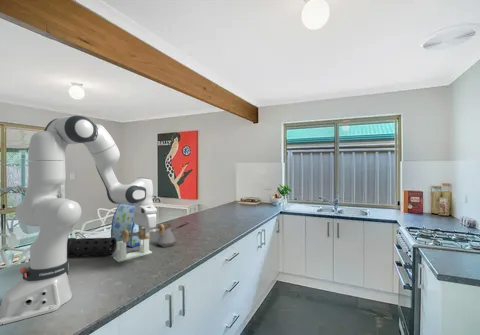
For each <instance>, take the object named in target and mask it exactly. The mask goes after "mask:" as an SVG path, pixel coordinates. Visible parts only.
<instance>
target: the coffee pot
mask: <svg viewBox="0 0 480 335" xmlns="http://www.w3.org/2000/svg"><path fill="white" fill-rule="evenodd" d="M187 225H188V227H190V223H189V222H187V223H184V224H180V225H179V226H176V227H173V228H172V226H173V224H171V223H169V224H168V223H166V224H163V226H164V229H165V232H164V235H161V236H160V235H159V236H158V237H159V238H158V239H157V244H158V245H159V246H160V247H163V248H166V247H167V248H169V247H172V246H173V245H175V243H176V242H177V238H176V236H175V234H174V232H173V231H175V230H177V229H180V228H182V227H184V226H187Z"/></svg>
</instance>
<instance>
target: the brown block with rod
mask: <svg viewBox="0 0 480 335" xmlns="http://www.w3.org/2000/svg"><path fill="white" fill-rule="evenodd" d="M163 225H164V224H163V223H159V224H158V226H157V228H153V229H150V230H149V235H148V236H145V235H144V232H145V228H141V229H139V230H138V232H135V233H129V234H128V231H127V230H123V231H122V240H123V242H128V239H129V237H133V236H138V238H139V239H141V240H145V239H149V240H150V238H151V237H150V236H151V234H156V233H157V234H158V235H159V237H160V236H161V235H164V232H165V229H164V226H163Z"/></svg>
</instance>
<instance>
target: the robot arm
mask: <svg viewBox="0 0 480 335" xmlns="http://www.w3.org/2000/svg"><path fill="white" fill-rule="evenodd" d="M77 144H83V145H84V146H85V147H86V148H87V151H88V152H89V154H90V155H91V157H92V158H93V161H94V163H95V167H96V171H97V172H98V175H99V177H100V179H101V181H102V184H104V187H105V190H106V196H107V199H108V201H110V202H111V203H112V204H114V205H115V204H116V205H117V204H118V205H119V204H121V203H122V204H135V211H134V217H133V222H134V224H136V225H138V228H139V229H141V228H143V227H145V232H144V235H145V236H148V235H149V230H153V229H156V227H157V213H158V209H157V208H156V206H155V205H154V201H153V196H154V185H153V184H154V183H153V180H152V179H150V178H147V177H136V179H135V180H134V181H133V182H131V183H129V184H122V183H121V182H120V181H118V178H117V176H116V175H115V172H114V170H113V166H114V165H116V164H117V163H118V161H119V160H120V157H121V152H120V150H119V147H118V146H117V144H116V142H115V140H114V139H113V137H112V136H111V134H110V133H109V132H108V130H107V129H106V128H105V127H104V126H103V125H102V124H99V123H94V121H92V120H91V119H89V118H88V117H86V116H83V115H70V116H68V115H67V116H62V117H58V118H55V119H54V118H53V119H52V120H51V121H49V123H47V124H46V126H45V129H44V130H42V131H37V132H34V133H33V134H32V135H31V136H30V140H29V145H28V146H29V147H28V153H27V154H28V155H27V157H28V158H27V161H28V164H27V165H28V168H27V169H28V175H27V176H28V177H27V178H28V180H27V187H26V190H25V193H24V196H23V199H22V201H20V203H18V205H17V206H16V208H15V212H14V214H15V218H16V219H17V220H18V221H19V222H20V223H22V224H25V225H27V226H31V227H39V231H38V235H37V237H36V240H34V241H33V242H32V243H31V244H30V247H29V267H26V266H23V267H21V268H20V270H19V272H20V274H22V279H21V280H20V281H18V282H17V284H15V285H13V287H11V288H10V289H9V290H7V291H6V292H5V294H4V295H3V298H2V300H1V304H0V326H3V325H7V324H10V323H14V322H17V321H21V320H26V319H30V318H33V317H36V316H40V315H41V316H42V315H43V314H48V313H52V312H55V311H57V310H58V309H59V308H60V307H61V306H63V305H64V304H66V303H68V302H69V301H70V300H71V299H72V298H73V293H72V290H71V286H70V281H69V271H70V266H69V265H70V264H69V260H68V256H67V241H68V238H69V236H70V233H71V231H72V228H73V227H74V225H76V224H77V223H78V222H79V220H81V218H82V213H83V212H82V207H81V205H80V204H79V203H78V202H77V201H75V200H71V199H69V198H67V197H65V198H63V197H58V193H59V189H60V187H61V186H62V185H64V183H65V182H66V180H67V179H66V178H67V173H66V149H67V147H68V145H77ZM2 324H3V325H2Z"/></svg>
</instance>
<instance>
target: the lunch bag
mask: <svg viewBox="0 0 480 335" xmlns="http://www.w3.org/2000/svg"><path fill="white" fill-rule="evenodd" d="M116 207H117V208H116V209H115V212H114V213H113V216H112V220H111V227H110V238H115V239H116V242H119V241H123V240H122V231H123V230H127V231H128V234H129V233H135V232H138V230H139V228H138V225H136V224H134V222H133V217H134V211H135V204H122V203H121V204H118V205H117V206H116ZM143 228H145V227H143ZM123 243H126V247H130V248H134V247H136V246H140V239H139V238H138V236H133V237H129V239H128V242H123Z"/></svg>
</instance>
